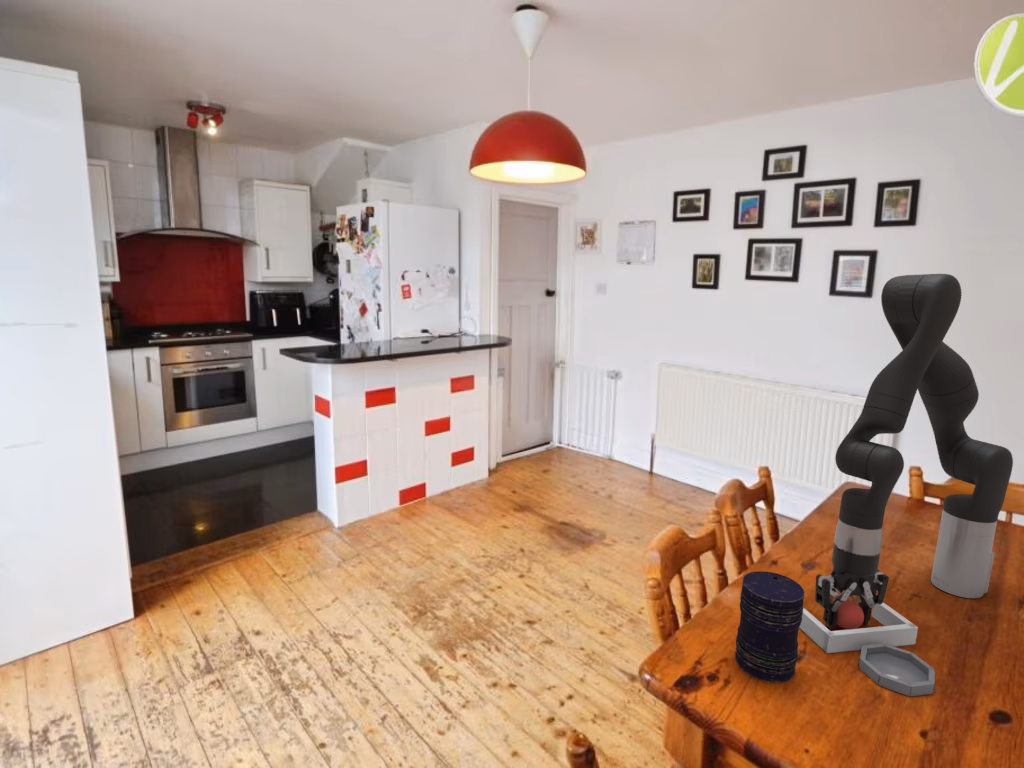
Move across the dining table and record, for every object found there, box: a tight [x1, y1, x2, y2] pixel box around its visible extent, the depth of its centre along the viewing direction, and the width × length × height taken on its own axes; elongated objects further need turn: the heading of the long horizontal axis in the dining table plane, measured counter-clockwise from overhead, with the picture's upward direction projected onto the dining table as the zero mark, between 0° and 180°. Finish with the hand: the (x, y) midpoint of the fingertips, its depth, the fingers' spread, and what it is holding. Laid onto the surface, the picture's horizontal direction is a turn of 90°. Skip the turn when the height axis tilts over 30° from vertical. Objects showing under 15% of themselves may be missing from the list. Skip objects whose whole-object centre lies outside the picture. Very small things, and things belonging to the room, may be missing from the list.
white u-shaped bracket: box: [799, 602, 919, 654], centre depth 108 cm, size 18×9×4 cm, turn 99°
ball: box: [836, 599, 864, 630], centre depth 110 cm, size 6×6×6 cm
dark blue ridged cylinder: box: [734, 570, 805, 684], centre depth 99 cm, size 10×10×15 cm
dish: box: [858, 643, 936, 697], centre depth 98 cm, size 10×10×2 cm
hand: (846, 623), depth 111 cm, fingers open, 6 cm apart
